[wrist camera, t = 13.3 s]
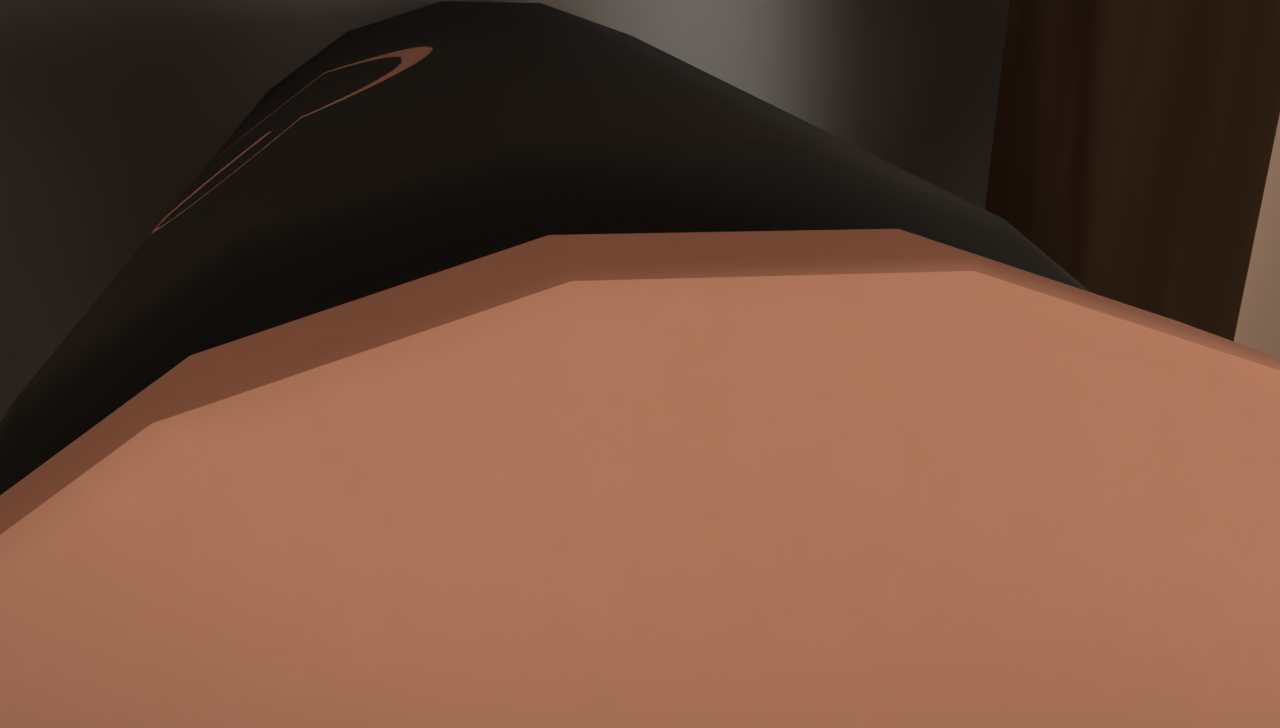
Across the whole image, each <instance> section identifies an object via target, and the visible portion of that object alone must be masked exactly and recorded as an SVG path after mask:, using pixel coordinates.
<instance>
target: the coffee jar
mask: <svg viewBox="0 0 1280 728" xmlns="http://www.w3.org/2000/svg"><path fill="white" fill-rule="evenodd" d="M0 728H1280V361H1279V360H1278V359H1276V358H1275V357H1274V356H1272V355H1269V354H1266V353H1264V352H1261V351H1258V350H1255V349H1253V348H1250V347H1247V346H1244V345H1242V344H1239V343H1236V342H1233V341H1231V340H1228V339H1225V338H1222V337H1220V336H1217V335H1214V334H1211V333H1209V332H1206V331H1203V330H1200V329H1198V328H1195V327H1192V326H1189V325H1187V324H1184V323H1181V322H1178V321H1176V320H1172V319H1169V318H1166V317H1163V316H1160V315H1157V314H1154V313H1151V312H1148V311H1145V310H1142V309H1139V308H1136V307H1133V306H1130V305H1127V304H1124V303H1121V302H1118V301H1115V300H1112V299H1109V298H1106V297H1103V296H1100V295H1097V294H1094V293H1091V292H1090V291H1089V290H1088V289H1086V288H1085V287H1084V286H1083V285H1082V284H1081V283H1079V282H1078V281H1077V280H1076V279H1075V278H1073V277H1072V276H1071V275H1070V274H1069V273H1067V272H1066V271H1065V270H1064V269H1063V268H1061V267H1060V266H1059V265H1058V264H1057V263H1056V262H1054V261H1053V260H1052V259H1051V258H1050V257H1048V256H1047V255H1046V254H1045V253H1044V252H1042V251H1041V250H1040V249H1039V248H1038V247H1037V246H1035V245H1034V244H1033V243H1032V242H1031V241H1029V240H1028V239H1027V238H1026V237H1025V236H1023V235H1022V234H1021V233H1020V232H1019V231H1018V230H1016V229H1015V228H1014V227H1013V226H1012V225H1010V224H1009V223H1008V222H1007V221H1006V220H1004V219H1003V218H1001V217H999V216H997V215H995V214H992V213H990V212H988V211H986V210H984V209H982V208H980V207H978V206H976V205H974V204H972V203H970V202H968V201H966V200H964V199H962V198H960V197H958V196H956V195H954V194H952V193H950V192H948V191H946V190H944V189H942V188H940V187H938V186H936V185H934V184H932V183H930V182H928V181H926V180H924V179H921V178H919V177H917V176H915V175H913V174H911V173H909V172H907V171H905V170H903V169H901V168H899V167H897V166H895V165H893V164H891V163H889V162H887V161H885V160H883V159H881V158H879V157H877V156H875V155H873V154H871V153H869V152H867V151H865V150H863V149H861V148H859V147H857V146H855V145H853V144H850V143H848V142H846V141H844V140H842V139H840V138H838V137H836V136H834V135H832V134H830V133H828V132H826V131H824V130H822V129H820V128H818V127H816V126H814V125H812V124H810V123H808V122H806V121H804V120H802V119H800V118H798V117H796V116H794V115H792V114H790V113H788V112H786V111H784V110H782V109H779V108H777V107H775V106H773V105H771V104H769V103H767V102H765V101H763V100H761V99H759V98H757V97H755V96H753V95H751V94H749V93H747V92H745V91H743V90H741V89H739V88H737V87H735V86H733V85H731V84H729V83H727V82H725V81H723V80H721V79H719V78H717V77H715V76H713V75H711V74H708V73H706V72H704V71H702V70H700V69H698V68H696V67H694V66H692V65H690V64H688V63H686V62H684V61H682V60H680V59H678V58H676V57H674V56H672V55H670V54H668V53H666V52H664V51H662V50H660V49H658V48H656V47H654V46H652V45H650V44H648V43H646V42H644V41H642V40H640V39H637V38H635V37H633V36H631V35H629V34H626V33H623V32H620V31H618V30H615V29H612V28H609V27H606V26H604V25H601V24H598V23H595V22H592V21H590V20H587V19H584V18H581V17H578V16H576V15H573V14H570V13H567V12H564V11H562V10H559V9H556V8H553V7H551V6H548V5H545V4H542V3H515V2H459V1H441V2H438V3H435V4H432V5H428V6H425V7H422V8H419V9H416V10H413V11H410V12H407V13H403V14H400V15H397V16H394V17H391V18H388V19H385V20H382V21H378V22H375V23H372V24H369V25H366V26H363V27H360V28H357V29H354V30H350V31H347V32H346V33H344V34H343V35H342V36H340V37H339V38H338V39H336V40H335V41H334V42H332V43H331V44H330V45H328V46H327V47H326V48H324V49H323V50H322V51H320V52H319V53H318V54H316V55H315V56H314V57H312V58H311V59H310V60H308V61H307V62H306V63H304V64H303V65H302V66H300V67H299V68H298V69H296V70H295V71H294V72H292V73H291V74H290V75H288V76H287V77H286V78H284V79H283V80H282V81H280V82H279V83H278V84H276V85H275V86H274V87H272V88H271V89H270V90H268V92H267V93H266V94H265V95H264V96H263V98H262V99H261V100H260V101H259V102H258V104H257V105H256V106H255V107H254V109H253V110H252V111H251V112H250V113H249V115H248V116H247V117H246V118H245V120H244V121H243V122H242V123H241V124H240V126H239V127H238V128H237V129H236V131H235V132H234V133H233V134H232V135H231V137H230V138H229V139H228V140H227V141H226V143H225V144H224V145H223V146H222V148H221V149H220V150H219V151H218V152H217V154H216V155H215V156H214V157H213V159H212V160H211V161H210V162H209V163H208V165H207V166H206V167H205V168H204V170H203V171H202V172H201V173H200V174H199V176H198V177H197V178H196V179H195V181H194V182H193V183H192V184H191V185H190V187H189V188H188V189H187V190H186V191H185V193H184V194H183V195H182V196H181V198H180V199H179V200H178V201H177V202H176V204H175V205H174V206H173V207H172V209H171V210H170V211H169V212H168V213H167V215H166V216H165V217H164V218H163V220H162V221H161V222H160V223H159V224H158V226H157V227H156V228H155V229H154V231H153V232H152V233H151V234H150V235H149V237H148V238H147V239H146V240H145V241H144V243H143V244H142V245H141V246H140V248H139V249H138V250H137V251H136V252H135V254H134V255H133V256H132V257H131V259H130V260H129V261H128V262H127V263H126V265H125V266H124V267H123V268H122V270H121V271H120V272H119V273H118V274H117V276H116V277H115V278H114V279H113V281H112V282H111V283H110V284H109V285H108V287H107V288H106V289H105V290H104V291H103V293H102V294H101V295H100V296H99V298H98V299H97V300H96V301H95V302H94V304H93V305H92V306H91V307H90V309H89V310H88V311H87V312H86V313H85V315H84V316H83V317H82V318H81V320H80V321H79V322H78V323H77V324H76V326H75V327H74V328H73V329H72V331H71V332H70V333H69V334H68V335H67V337H66V338H65V339H64V340H63V341H62V343H61V344H60V345H59V346H58V348H57V349H56V350H55V351H54V352H53V354H52V355H51V356H50V357H49V359H48V360H47V361H46V362H45V363H44V365H43V366H42V367H41V368H40V370H39V371H38V372H37V373H36V374H35V376H34V377H33V378H32V379H31V380H30V382H29V383H28V384H27V385H26V387H25V388H24V389H23V390H22V391H21V393H20V394H19V395H18V396H17V398H16V399H15V401H14V402H13V404H12V405H11V407H10V408H9V410H8V411H7V413H6V414H5V416H4V417H3V419H2V420H1V422H0Z"/></svg>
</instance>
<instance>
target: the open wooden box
mask: <svg viewBox="0 0 1280 728" xmlns="http://www.w3.org/2000/svg"><path fill="white" fill-rule="evenodd" d="M441 1H459V2H515V3H542V4H545V5H548V6H551V7H553V8H556V9H559V10H562V11H564V12H567V13H570V14H573V15H576V16H578V17H581V18H584V19H587V20H590V21H592V22H595V23H598V24H601V25H604V26H606V27H609V28H612V29H615V30H618V31H620V32H623V33H626V34H629V35H631V36H633V37H635V38H637V39H640V40H642V41H644V42H646V43H648V44H650V45H652V46H654V47H656V48H658V49H660V50H662V51H664V52H666V53H668V54H670V55H672V56H674V57H676V58H678V59H680V60H682V61H684V62H686V63H688V64H690V65H692V66H694V67H696V68H698V69H700V70H702V71H704V72H706V73H708V74H711V75H713V76H715V77H717V78H719V79H721V80H723V81H725V82H727V83H729V84H731V85H733V86H735V87H737V88H739V89H741V90H743V91H745V92H747V93H749V94H751V95H753V96H755V97H757V98H759V99H761V100H763V101H765V102H767V103H769V104H771V105H773V106H775V107H777V108H779V109H782V110H784V111H786V112H788V113H790V114H792V115H794V116H796V117H798V118H800V119H802V120H804V121H806V122H808V123H810V124H812V125H814V126H816V127H818V128H820V129H822V130H824V131H826V132H828V133H830V134H832V135H834V136H836V137H838V138H840V139H842V140H844V141H846V142H848V143H850V144H853V145H855V146H857V147H859V148H861V149H863V150H865V151H867V152H869V153H871V154H873V155H875V156H877V157H879V158H881V159H883V160H885V161H887V162H889V163H891V164H893V165H895V166H897V167H899V168H901V169H903V170H905V171H907V172H909V173H911V174H913V175H915V176H917V177H919V178H921V179H924V180H926V181H928V182H930V183H932V184H934V185H936V186H938V187H940V188H942V189H944V190H946V191H948V192H950V193H952V194H954V195H956V196H958V197H960V198H962V199H964V200H966V201H968V202H970V203H972V204H974V205H976V206H978V207H980V208H982V209H984V210H986V211H988V212H990V213H992V214H995V215H997V216H999V217H1001V218H1003V219H1004V220H1006V221H1007V222H1008V223H1009V224H1010V225H1012V226H1013V227H1014V228H1015V229H1016V230H1018V231H1019V232H1020V233H1021V234H1022V235H1023V236H1025V237H1026V238H1027V239H1028V240H1029V241H1031V242H1032V243H1033V244H1034V245H1035V246H1037V247H1038V248H1039V249H1040V250H1041V251H1042V252H1044V253H1045V254H1046V255H1047V256H1048V257H1050V258H1051V259H1052V260H1053V261H1054V262H1056V263H1057V264H1058V265H1059V266H1060V267H1061V268H1063V269H1064V270H1065V271H1066V272H1067V273H1069V274H1070V275H1071V276H1072V277H1073V278H1075V279H1076V280H1077V281H1078V282H1079V283H1081V284H1082V285H1083V286H1084V287H1085V288H1086V289H1088V290H1089V291H1090V292H1091V293H1094V294H1097V295H1100V296H1103V297H1106V298H1109V299H1112V300H1115V301H1118V302H1121V303H1124V304H1127V305H1130V306H1133V307H1136V308H1139V309H1142V310H1145V311H1148V312H1151V313H1154V314H1157V315H1160V316H1163V317H1166V318H1169V319H1172V320H1176V321H1178V322H1181V323H1184V324H1187V325H1189V326H1192V327H1195V328H1198V329H1200V330H1203V331H1206V332H1209V333H1211V334H1214V335H1217V336H1220V337H1222V338H1225V339H1228V340H1231V341H1233V342H1236V343H1239V344H1242V345H1244V346H1247V347H1250V348H1253V349H1255V350H1258V351H1261V352H1264V353H1266V354H1269V355H1272V356H1274V357H1275V358H1276V359H1278V360H1279V361H1280V0H0V422H1V420H2V419H3V417H4V416H5V414H6V413H7V411H8V410H9V408H10V407H11V405H12V404H13V402H14V401H15V399H16V398H17V396H18V395H19V394H20V393H21V391H22V390H23V389H24V388H25V387H26V385H27V384H28V383H29V382H30V380H31V379H32V378H33V377H34V376H35V374H36V373H37V372H38V371H39V370H40V368H41V367H42V366H43V365H44V363H45V362H46V361H47V360H48V359H49V357H50V356H51V355H52V354H53V352H54V351H55V350H56V349H57V348H58V346H59V345H60V344H61V343H62V341H63V340H64V339H65V338H66V337H67V335H68V334H69V333H70V332H71V331H72V329H73V328H74V327H75V326H76V324H77V323H78V322H79V321H80V320H81V318H82V317H83V316H84V315H85V313H86V312H87V311H88V310H89V309H90V307H91V306H92V305H93V304H94V302H95V301H96V300H97V299H98V298H99V296H100V295H101V294H102V293H103V291H104V290H105V289H106V288H107V287H108V285H109V284H110V283H111V282H112V281H113V279H114V278H115V277H116V276H117V274H118V273H119V272H120V271H121V270H122V268H123V267H124V266H125V265H126V263H127V262H128V261H129V260H130V259H131V257H132V256H133V255H134V254H135V252H136V251H137V250H138V249H139V248H140V246H141V245H142V244H143V243H144V241H145V240H146V239H147V238H148V237H149V235H150V234H151V233H152V232H153V231H154V229H155V228H156V227H157V226H158V224H159V223H160V222H161V221H162V220H163V218H164V217H165V216H166V215H167V213H168V212H169V211H170V210H171V209H172V207H173V206H174V205H175V204H176V202H177V201H178V200H179V199H180V198H181V196H182V195H183V194H184V193H185V191H186V190H187V189H188V188H189V187H190V185H191V184H192V183H193V182H194V181H195V179H196V178H197V177H198V176H199V174H200V173H201V172H202V171H203V170H204V168H205V167H206V166H207V165H208V163H209V162H210V161H211V160H212V159H213V157H214V156H215V155H216V154H217V152H218V151H219V150H220V149H221V148H222V146H223V145H224V144H225V143H226V141H227V140H228V139H229V138H230V137H231V135H232V134H233V133H234V132H235V131H236V129H237V128H238V127H239V126H240V124H241V123H242V122H243V121H244V120H245V118H246V117H247V116H248V115H249V113H250V112H251V111H252V110H253V109H254V107H255V106H256V105H257V104H258V102H259V101H260V100H261V99H262V98H263V96H264V95H265V94H266V93H267V92H268V90H270V89H271V88H272V87H274V86H275V85H276V84H278V83H279V82H280V81H282V80H283V79H284V78H286V77H287V76H288V75H290V74H291V73H292V72H294V71H295V70H296V69H298V68H299V67H300V66H302V65H303V64H304V63H306V62H307V61H308V60H310V59H311V58H312V57H314V56H315V55H316V54H318V53H319V52H320V51H322V50H323V49H324V48H326V47H327V46H328V45H330V44H331V43H332V42H334V41H335V40H336V39H338V38H339V37H340V36H342V35H343V34H344V33H346V32H347V31H350V30H354V29H357V28H360V27H363V26H366V25H369V24H372V23H375V22H378V21H382V20H385V19H388V18H391V17H394V16H397V15H400V14H403V13H407V12H410V11H413V10H416V9H419V8H422V7H425V6H428V5H432V4H435V3H438V2H441Z"/></svg>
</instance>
